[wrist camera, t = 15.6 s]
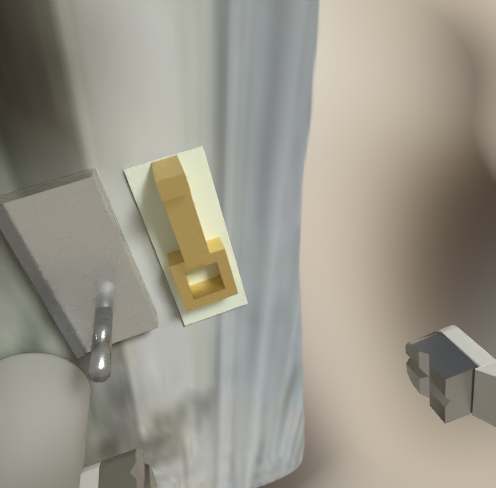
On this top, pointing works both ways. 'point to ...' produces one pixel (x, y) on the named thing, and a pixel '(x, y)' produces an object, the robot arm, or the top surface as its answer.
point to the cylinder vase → (42, 421)
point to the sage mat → (165, 237)
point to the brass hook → (191, 240)
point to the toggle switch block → (79, 264)
